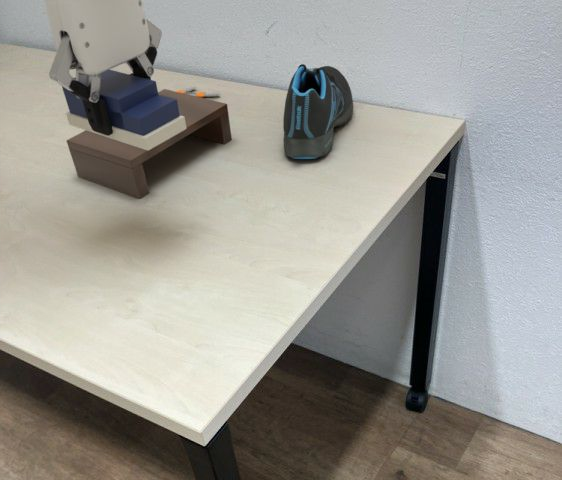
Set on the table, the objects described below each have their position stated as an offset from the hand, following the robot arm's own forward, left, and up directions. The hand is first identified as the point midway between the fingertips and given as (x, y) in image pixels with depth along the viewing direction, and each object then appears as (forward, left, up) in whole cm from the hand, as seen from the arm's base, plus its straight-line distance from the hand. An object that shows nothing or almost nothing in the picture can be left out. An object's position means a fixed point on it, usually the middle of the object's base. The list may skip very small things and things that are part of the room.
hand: (125, 119), depth 74 cm
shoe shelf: (-15, +16, -15) cm, 27 cm away
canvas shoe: (0, 0, -1) cm, 1 cm away
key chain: (-27, +36, -15) cm, 48 cm away
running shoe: (+3, +38, -16) cm, 41 cm away
